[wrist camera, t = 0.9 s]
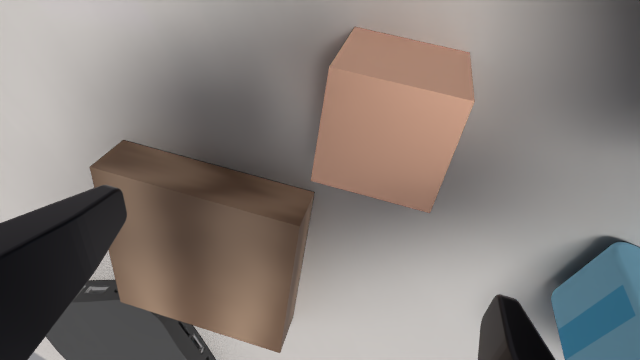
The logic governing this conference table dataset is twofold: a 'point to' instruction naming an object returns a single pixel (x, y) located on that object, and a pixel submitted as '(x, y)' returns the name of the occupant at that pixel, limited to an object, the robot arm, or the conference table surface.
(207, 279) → the walnut block
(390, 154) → the terracotta block
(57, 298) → the robot arm
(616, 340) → the data package
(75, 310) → the media streaming box
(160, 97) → the conference table surface
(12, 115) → the conference table surface
